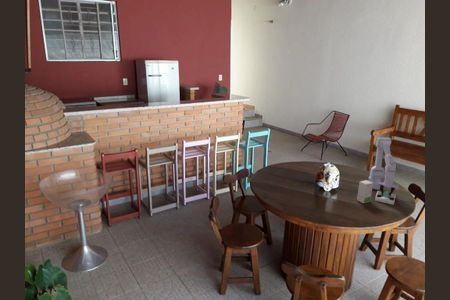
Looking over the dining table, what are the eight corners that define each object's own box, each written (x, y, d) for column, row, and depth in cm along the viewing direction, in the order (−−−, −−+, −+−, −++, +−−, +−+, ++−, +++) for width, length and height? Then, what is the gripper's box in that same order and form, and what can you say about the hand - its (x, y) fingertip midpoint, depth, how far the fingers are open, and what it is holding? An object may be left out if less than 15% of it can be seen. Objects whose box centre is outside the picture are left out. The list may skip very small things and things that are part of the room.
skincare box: (363, 203, 235) (366, 184, 230) (355, 200, 240) (358, 181, 235) (370, 201, 238) (373, 182, 234) (363, 197, 244) (366, 179, 239)
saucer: (379, 199, 241) (379, 199, 241) (380, 196, 247) (380, 195, 246) (389, 202, 237) (389, 201, 237) (390, 198, 243) (390, 198, 243)
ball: (381, 197, 241) (382, 191, 239) (382, 195, 245) (383, 189, 243) (388, 199, 238) (389, 193, 237) (389, 196, 242) (390, 190, 241)
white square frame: (374, 200, 240) (375, 196, 239) (377, 194, 251) (377, 190, 250) (393, 204, 234) (394, 201, 233) (395, 198, 244) (395, 194, 243)
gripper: (377, 178, 237) (374, 194, 241) (399, 182, 230) (395, 199, 234) (378, 175, 243) (376, 191, 247) (399, 179, 236) (396, 196, 240)
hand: (385, 195), depth 241 cm, fingers closed on ball, 5 cm apart
